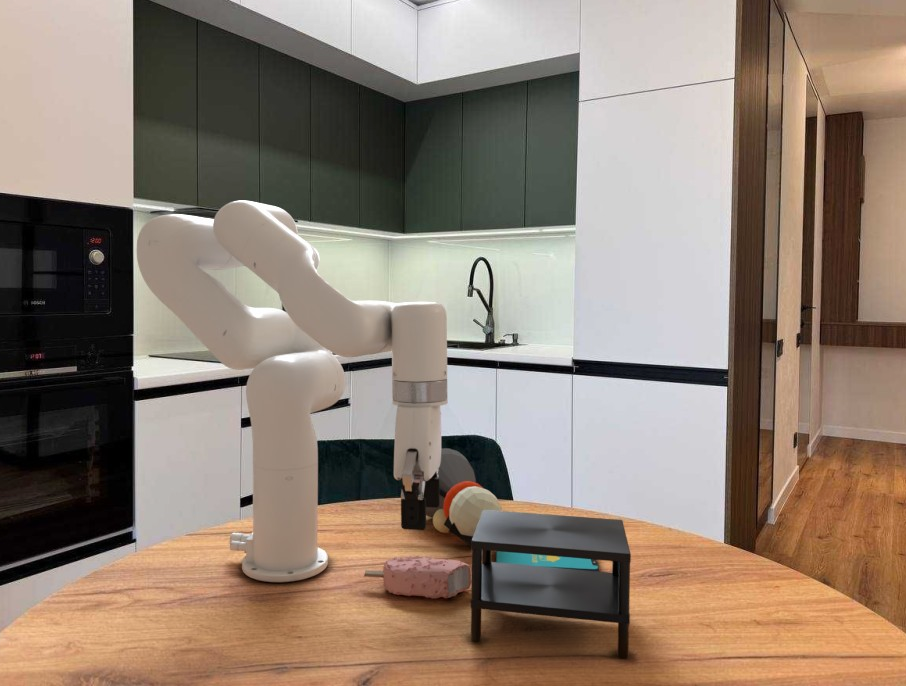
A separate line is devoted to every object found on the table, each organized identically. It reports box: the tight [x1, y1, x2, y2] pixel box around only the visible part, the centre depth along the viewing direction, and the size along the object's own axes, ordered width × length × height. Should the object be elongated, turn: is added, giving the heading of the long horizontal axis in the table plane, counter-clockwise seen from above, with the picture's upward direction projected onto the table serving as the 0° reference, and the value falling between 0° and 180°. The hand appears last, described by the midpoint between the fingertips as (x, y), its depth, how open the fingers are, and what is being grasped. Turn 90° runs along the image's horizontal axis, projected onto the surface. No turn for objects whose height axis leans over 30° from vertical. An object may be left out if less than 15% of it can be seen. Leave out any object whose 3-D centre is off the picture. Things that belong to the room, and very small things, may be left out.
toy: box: [414, 447, 503, 547], centre depth 122 cm, size 17×13×30 cm
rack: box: [470, 510, 632, 660], centre depth 86 cm, size 18×12×12 cm, turn 78°
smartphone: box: [495, 551, 600, 572], centre depth 106 cm, size 7×1×15 cm
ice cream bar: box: [363, 555, 472, 599], centre depth 95 cm, size 6×4×15 cm
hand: (421, 517), depth 95 cm, fingers open, 9 cm apart
